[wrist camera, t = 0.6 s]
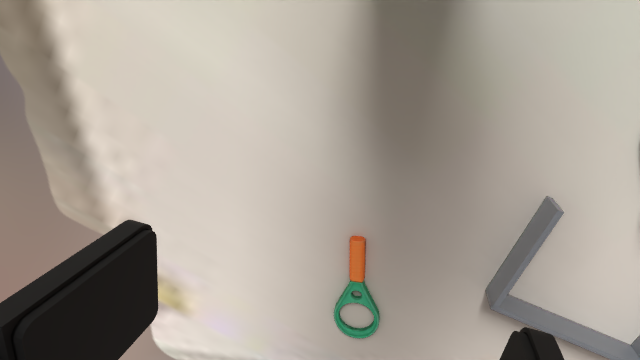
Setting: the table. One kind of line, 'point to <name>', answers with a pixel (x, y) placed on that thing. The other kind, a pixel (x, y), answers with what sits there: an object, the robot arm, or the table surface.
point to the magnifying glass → (357, 285)
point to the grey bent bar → (623, 356)
